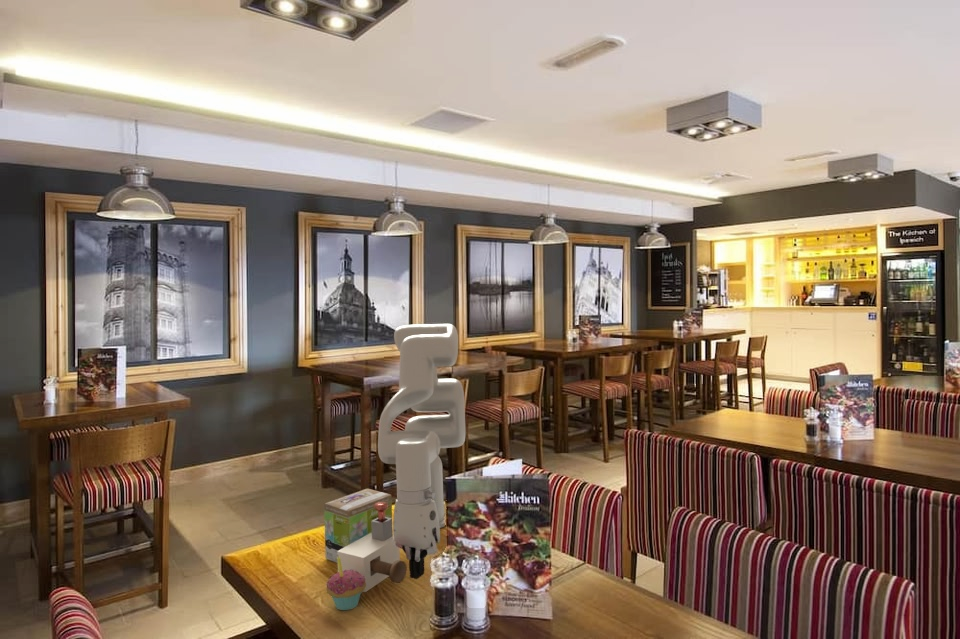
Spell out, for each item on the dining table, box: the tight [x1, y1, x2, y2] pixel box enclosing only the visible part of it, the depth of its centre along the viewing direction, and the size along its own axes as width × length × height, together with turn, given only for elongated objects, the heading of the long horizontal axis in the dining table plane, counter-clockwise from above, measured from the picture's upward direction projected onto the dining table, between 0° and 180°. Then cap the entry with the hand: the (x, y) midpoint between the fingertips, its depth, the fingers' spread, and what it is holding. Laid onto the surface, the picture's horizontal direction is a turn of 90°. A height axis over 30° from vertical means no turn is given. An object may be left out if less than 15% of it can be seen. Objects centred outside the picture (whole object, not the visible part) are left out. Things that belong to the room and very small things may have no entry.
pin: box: [370, 559, 408, 585], centre depth 143 cm, size 13×5×5 cm, turn 60°
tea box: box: [324, 487, 393, 564], centre depth 160 cm, size 15×10×15 cm, turn 143°
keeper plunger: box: [374, 502, 388, 522], centre depth 150 cm, size 3×3×5 cm
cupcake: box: [325, 555, 366, 611], centre depth 134 cm, size 9×8×12 cm
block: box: [337, 517, 401, 593], centre depth 147 cm, size 13×8×12 cm, turn 150°
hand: (417, 575), depth 137 cm, fingers closed
